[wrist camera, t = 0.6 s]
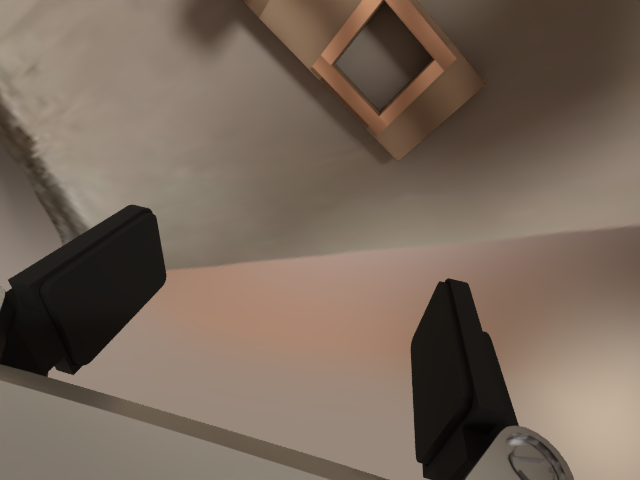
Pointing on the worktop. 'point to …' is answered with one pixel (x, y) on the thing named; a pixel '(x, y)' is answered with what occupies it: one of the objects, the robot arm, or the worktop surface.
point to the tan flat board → (320, 57)
